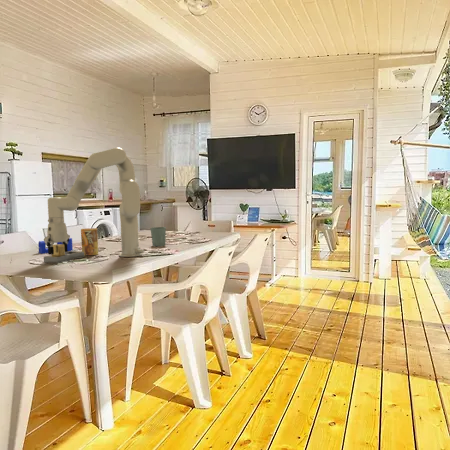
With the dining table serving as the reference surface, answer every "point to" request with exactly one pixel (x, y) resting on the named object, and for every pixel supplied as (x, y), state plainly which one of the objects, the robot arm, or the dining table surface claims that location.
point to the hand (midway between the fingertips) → (58, 252)
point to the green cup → (158, 236)
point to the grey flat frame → (64, 257)
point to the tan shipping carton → (58, 250)
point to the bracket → (69, 246)
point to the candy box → (89, 241)
